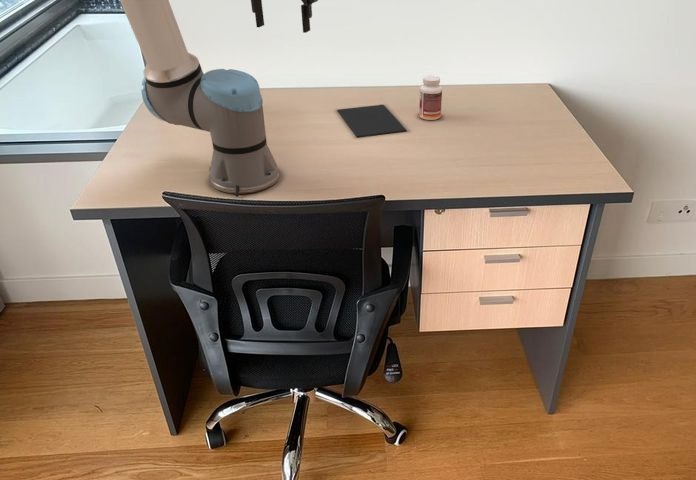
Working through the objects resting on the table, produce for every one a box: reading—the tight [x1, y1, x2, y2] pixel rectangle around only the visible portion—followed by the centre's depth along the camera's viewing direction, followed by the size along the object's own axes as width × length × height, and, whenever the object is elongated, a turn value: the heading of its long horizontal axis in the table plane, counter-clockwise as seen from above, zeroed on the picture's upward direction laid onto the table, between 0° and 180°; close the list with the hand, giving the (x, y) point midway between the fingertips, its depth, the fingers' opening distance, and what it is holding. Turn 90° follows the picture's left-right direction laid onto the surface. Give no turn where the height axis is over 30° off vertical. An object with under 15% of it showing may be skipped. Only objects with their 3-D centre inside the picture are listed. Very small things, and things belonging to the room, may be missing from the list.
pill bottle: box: [418, 74, 443, 121], centre depth 164 cm, size 6×6×11 cm
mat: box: [337, 104, 408, 138], centre depth 164 cm, size 20×14×1 cm
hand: (283, 28), depth 154 cm, fingers open, 13 cm apart
